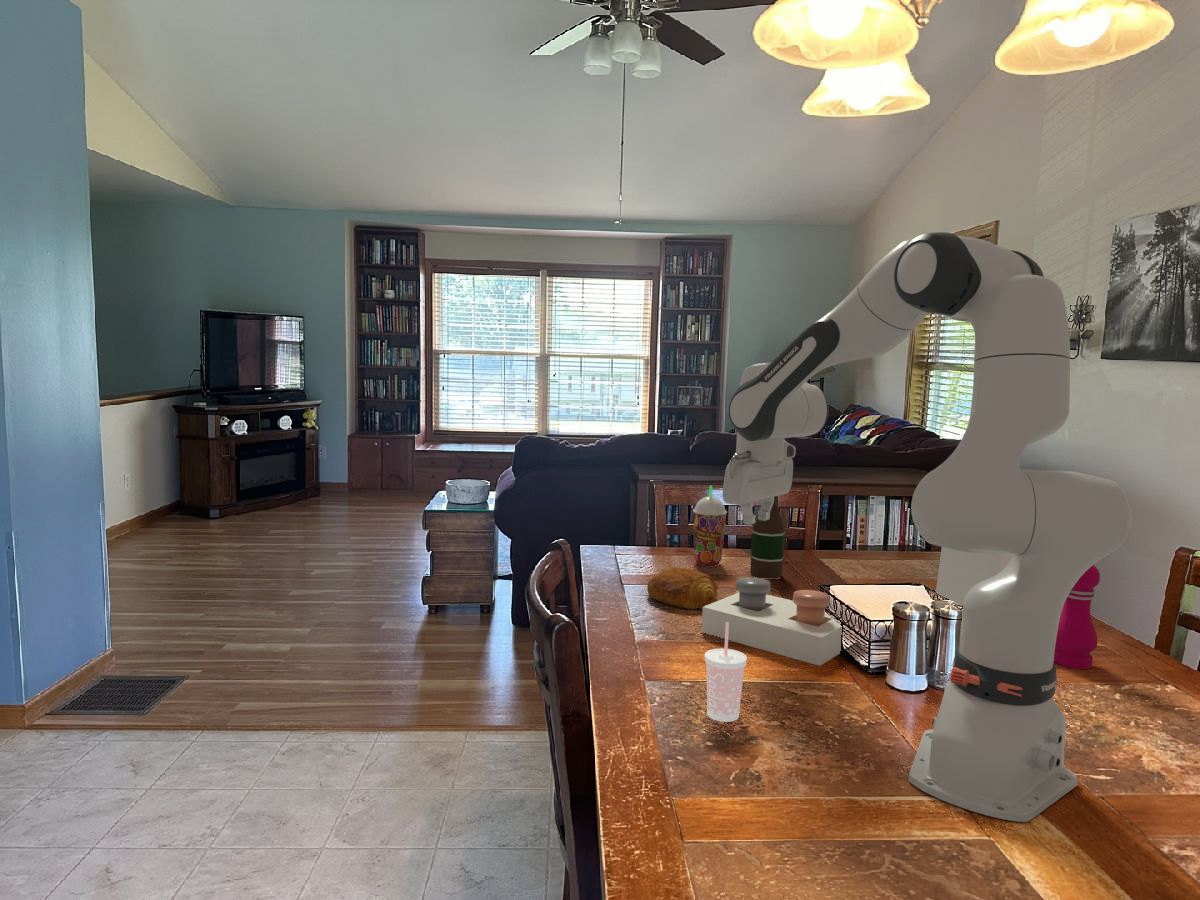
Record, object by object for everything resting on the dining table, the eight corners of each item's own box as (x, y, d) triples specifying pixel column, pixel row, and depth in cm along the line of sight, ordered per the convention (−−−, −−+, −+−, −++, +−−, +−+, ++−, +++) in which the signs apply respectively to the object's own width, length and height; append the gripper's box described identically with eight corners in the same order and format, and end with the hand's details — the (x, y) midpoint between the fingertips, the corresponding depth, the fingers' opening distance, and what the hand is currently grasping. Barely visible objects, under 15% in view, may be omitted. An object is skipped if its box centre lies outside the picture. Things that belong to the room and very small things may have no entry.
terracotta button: (818, 638, 146) (820, 602, 145) (785, 629, 150) (787, 594, 149) (833, 629, 151) (835, 594, 150) (801, 621, 155) (803, 587, 154)
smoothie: (689, 567, 203) (693, 487, 201) (691, 559, 211) (694, 482, 209) (724, 569, 202) (727, 489, 199) (724, 561, 210) (728, 484, 208)
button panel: (819, 665, 141) (821, 637, 140) (701, 632, 156) (702, 606, 155) (857, 642, 153) (859, 616, 152) (744, 613, 168) (745, 589, 167)
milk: (931, 620, 167) (941, 494, 164) (952, 608, 175) (962, 488, 172) (994, 635, 159) (1005, 502, 156) (1013, 621, 167) (1024, 496, 164)
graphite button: (758, 622, 153) (759, 588, 153) (728, 614, 157) (730, 581, 157) (774, 614, 158) (776, 581, 157) (745, 607, 162) (747, 575, 161)
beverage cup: (694, 709, 122) (698, 618, 120) (729, 703, 125) (733, 614, 123) (715, 727, 117) (720, 631, 115) (752, 720, 119) (757, 627, 117)
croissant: (686, 625, 167) (691, 589, 165) (634, 596, 178) (638, 562, 176) (732, 610, 176) (738, 575, 174) (680, 584, 187) (685, 551, 185)
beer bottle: (785, 580, 193) (791, 480, 190) (752, 579, 193) (757, 479, 190) (779, 572, 201) (784, 475, 198) (747, 571, 201) (752, 474, 198)
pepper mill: (1101, 672, 141) (1113, 558, 139) (1056, 668, 142) (1066, 555, 140) (1086, 657, 148) (1096, 548, 146) (1042, 653, 149) (1052, 546, 147)
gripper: (746, 455, 144) (742, 533, 146) (800, 447, 160) (796, 517, 161) (715, 452, 148) (712, 527, 150) (770, 444, 164) (767, 512, 165)
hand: (756, 522), depth 156 cm, fingers open, 4 cm apart
